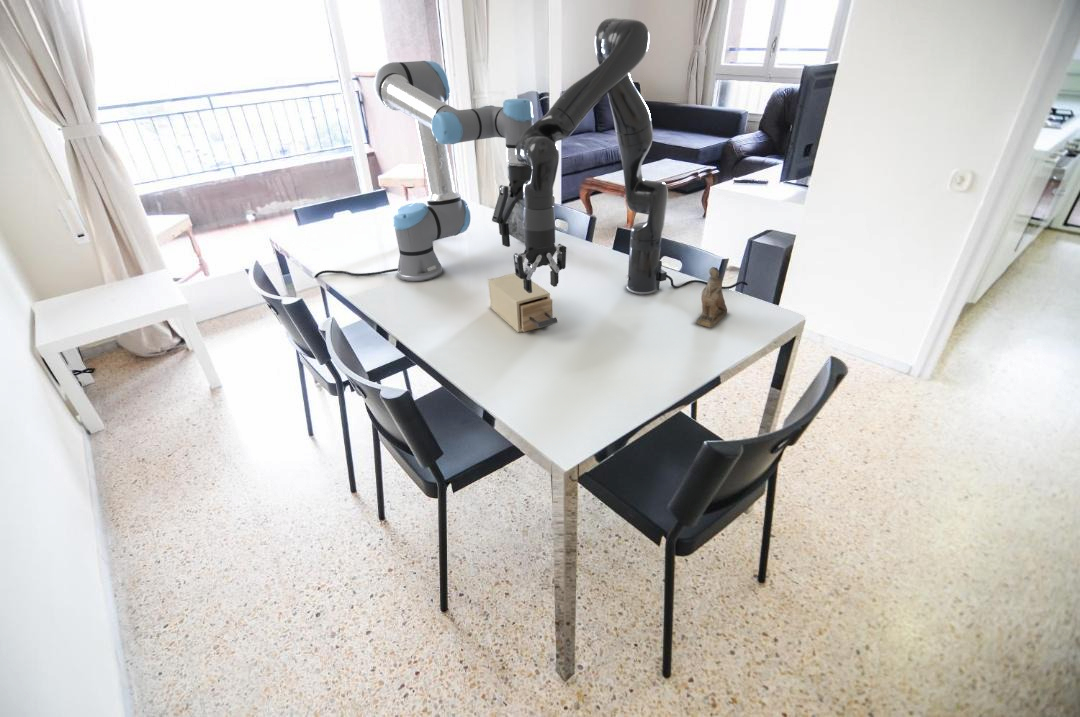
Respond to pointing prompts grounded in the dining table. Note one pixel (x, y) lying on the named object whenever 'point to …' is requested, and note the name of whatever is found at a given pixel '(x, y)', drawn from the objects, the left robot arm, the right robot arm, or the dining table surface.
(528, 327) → the drawer
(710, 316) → the brown carved statuette
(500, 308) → the cabinet
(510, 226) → the concrete block
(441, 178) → the left robot arm
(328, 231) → the dining table surface
